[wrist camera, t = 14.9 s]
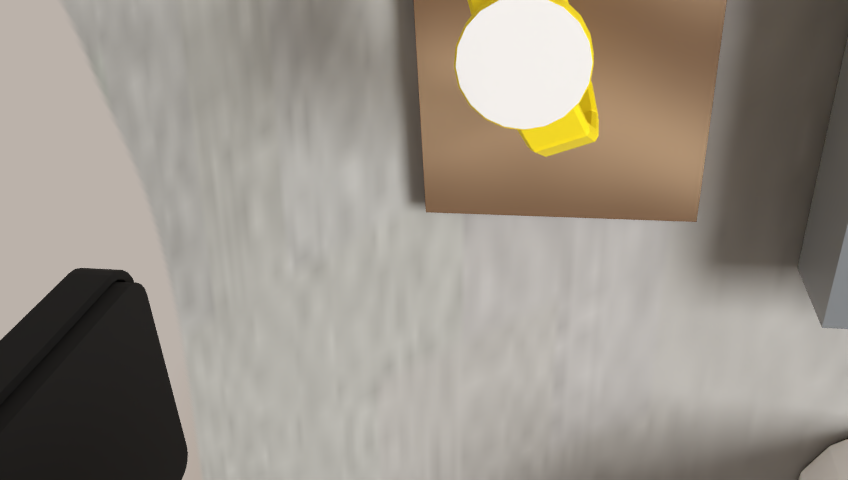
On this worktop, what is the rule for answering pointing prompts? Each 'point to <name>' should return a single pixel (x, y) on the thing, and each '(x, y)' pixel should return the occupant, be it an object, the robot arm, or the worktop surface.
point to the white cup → (829, 464)
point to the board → (617, 112)
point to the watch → (530, 71)
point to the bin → (830, 219)
